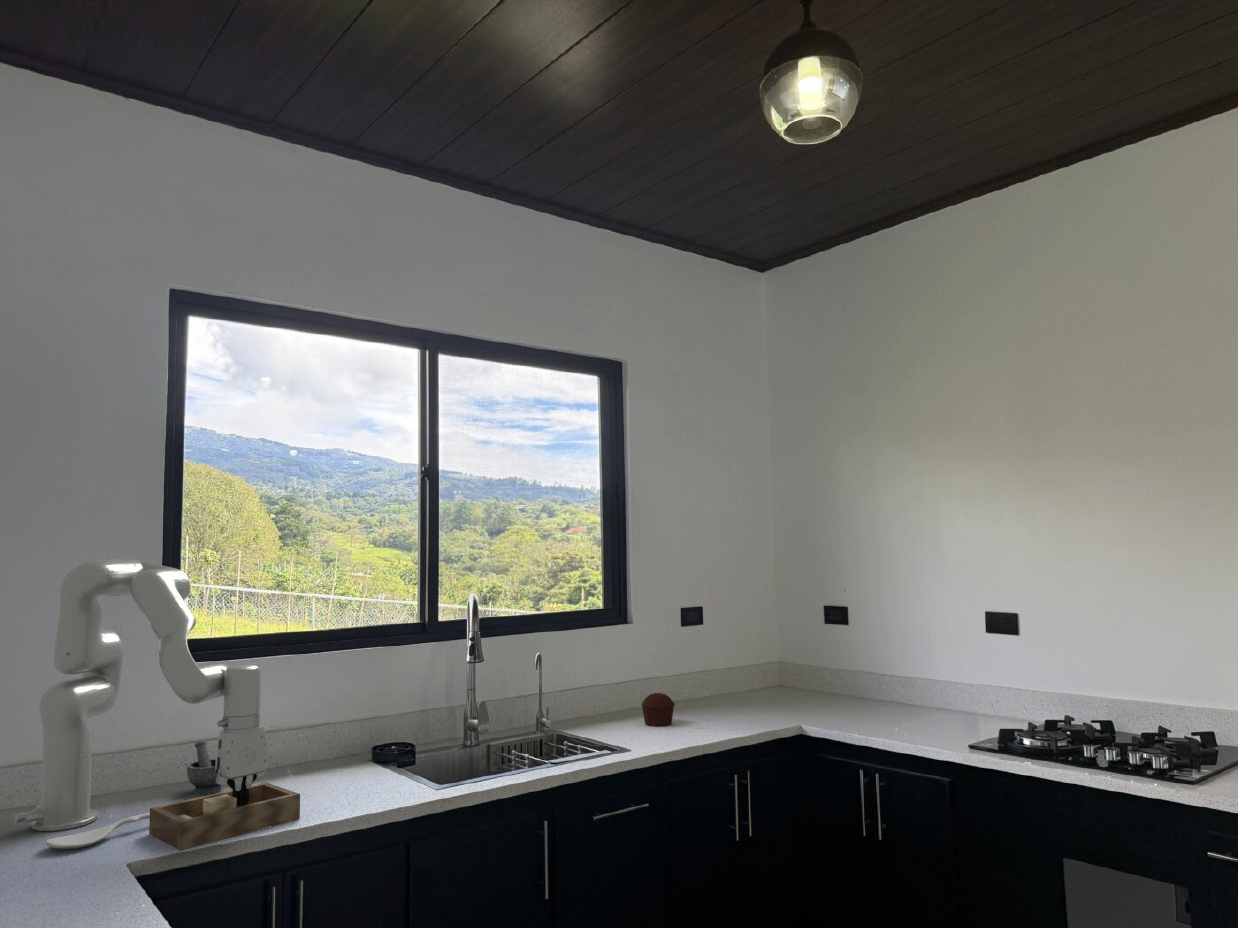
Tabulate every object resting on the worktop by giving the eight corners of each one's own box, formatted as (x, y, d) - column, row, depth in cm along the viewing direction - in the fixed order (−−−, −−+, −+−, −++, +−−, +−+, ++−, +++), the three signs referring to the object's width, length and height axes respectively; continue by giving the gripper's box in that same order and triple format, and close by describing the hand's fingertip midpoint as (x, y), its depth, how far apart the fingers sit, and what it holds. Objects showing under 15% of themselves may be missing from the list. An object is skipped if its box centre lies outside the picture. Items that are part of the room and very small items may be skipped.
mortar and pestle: (235, 790, 223) (236, 742, 224) (197, 799, 216) (198, 748, 217) (215, 783, 230) (216, 736, 231) (178, 791, 223) (179, 742, 224)
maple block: (212, 822, 187) (213, 803, 187) (202, 818, 190) (203, 799, 190) (236, 817, 191) (236, 798, 191) (225, 812, 194) (226, 794, 194)
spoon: (211, 818, 201) (212, 802, 201) (55, 859, 176) (56, 841, 176) (191, 811, 207) (192, 796, 207) (37, 850, 181) (38, 833, 182)
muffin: (639, 721, 300) (639, 691, 301) (671, 720, 301) (671, 690, 302) (644, 728, 288) (643, 697, 289) (678, 727, 290) (677, 696, 291)
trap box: (180, 850, 179) (180, 822, 179) (149, 834, 189) (149, 807, 190) (299, 818, 198) (300, 793, 199) (265, 805, 209) (266, 782, 209)
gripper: (215, 729, 188) (214, 818, 186) (282, 718, 199) (281, 802, 197) (200, 725, 192) (198, 812, 191) (265, 714, 204) (264, 796, 202)
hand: (240, 806), depth 194 cm, fingers closed
